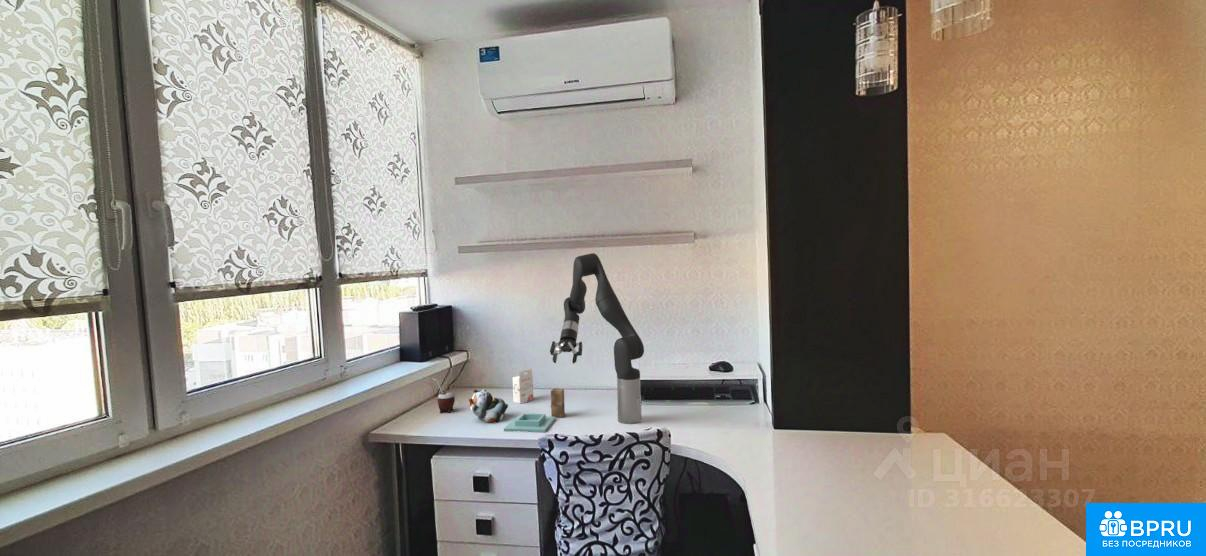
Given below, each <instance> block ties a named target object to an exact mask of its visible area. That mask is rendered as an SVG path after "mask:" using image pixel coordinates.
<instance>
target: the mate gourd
mask: <svg viewBox="0 0 1206 556" xmlns="http://www.w3.org/2000/svg"><path fill="white" fill-rule="evenodd" d="M431 379H432V380H433V381H435V382H436V383H437V385H438V388H439V390H440V393H439V394H438V397H437V405H438V409H439V414H443V413H448V414H451V413H452V411H454V405H455V402H456V401H455V400H456V399H455V395H454V393H453V392H452V391H444V392H443V389H442V386H441V384H440V382H439V381H438V380H437V379H435V378H433V377H432V378H431Z"/></svg>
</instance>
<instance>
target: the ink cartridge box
mask: <svg viewBox="0 0 1206 556" xmlns="http://www.w3.org/2000/svg"><path fill="white" fill-rule="evenodd" d="M533 377H534V376H533V369H532V368H529V369H525V370H522V371H519V372H518V375H517V376H513V377H512V400H513V403H515V404H520V405H521V403H522V404H524V402H525V403H527V401H528V402H531V401H533V400H534V379H533ZM530 400H531V401H530Z"/></svg>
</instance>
